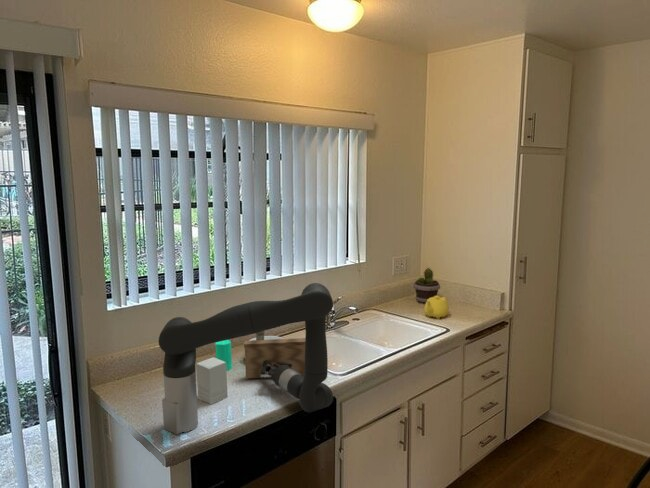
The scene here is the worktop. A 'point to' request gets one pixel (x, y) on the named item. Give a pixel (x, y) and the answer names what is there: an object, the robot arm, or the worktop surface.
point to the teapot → (436, 307)
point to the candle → (224, 352)
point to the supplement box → (212, 380)
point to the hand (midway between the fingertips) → (264, 363)
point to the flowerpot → (426, 287)
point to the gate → (274, 354)
